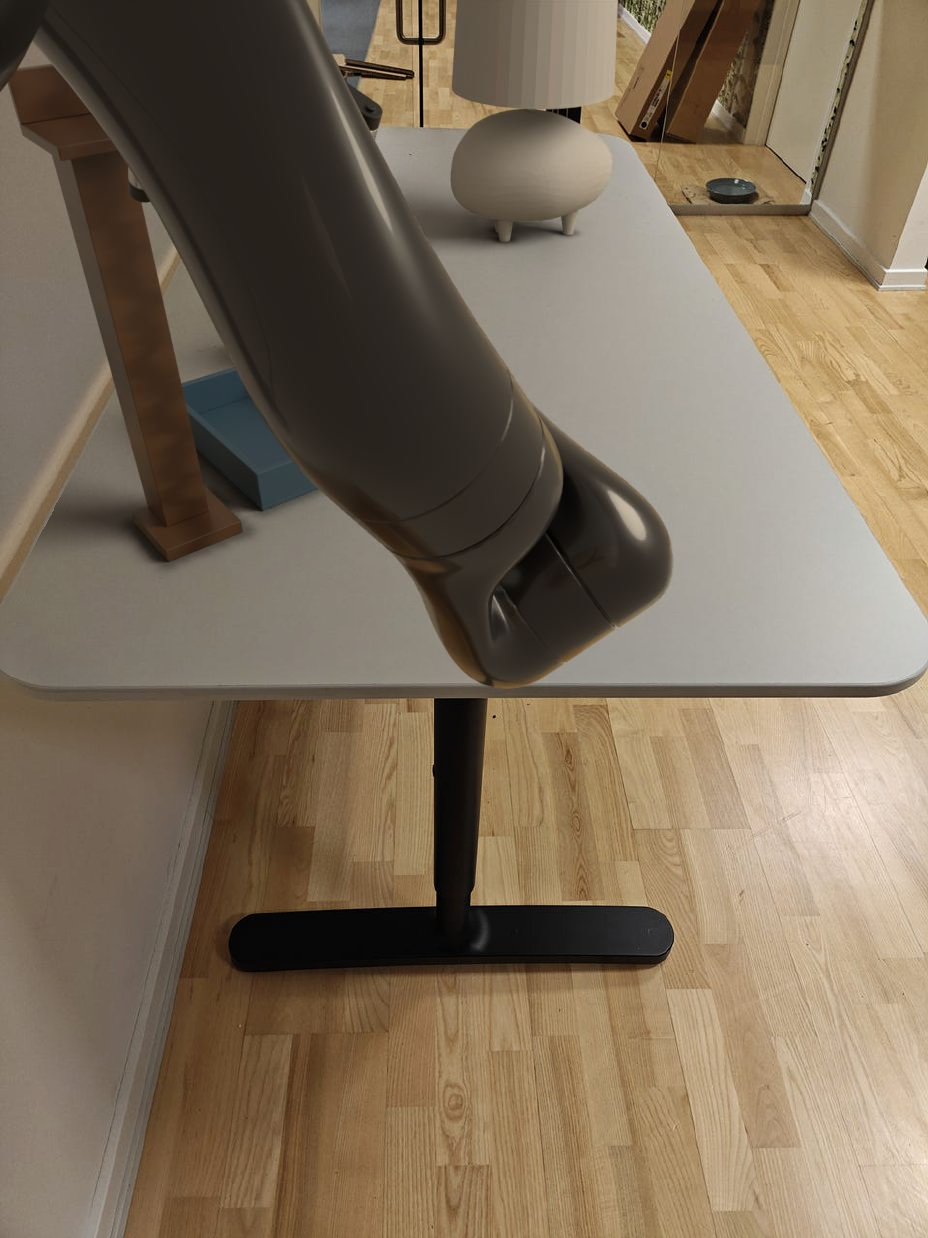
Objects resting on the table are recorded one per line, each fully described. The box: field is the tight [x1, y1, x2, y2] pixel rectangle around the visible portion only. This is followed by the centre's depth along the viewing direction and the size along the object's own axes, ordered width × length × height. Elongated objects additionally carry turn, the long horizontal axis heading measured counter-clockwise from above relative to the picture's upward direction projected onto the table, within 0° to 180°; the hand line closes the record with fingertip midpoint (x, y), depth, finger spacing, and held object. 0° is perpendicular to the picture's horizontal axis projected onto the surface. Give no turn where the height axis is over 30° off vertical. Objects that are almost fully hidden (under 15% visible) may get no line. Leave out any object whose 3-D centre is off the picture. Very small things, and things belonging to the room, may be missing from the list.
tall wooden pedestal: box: [7, 63, 244, 563], centre depth 69 cm, size 7×7×35 cm
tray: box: [181, 366, 319, 512], centre depth 89 cm, size 19×12×4 cm, turn 38°
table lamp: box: [449, 0, 619, 243], centre depth 121 cm, size 23×22×40 cm
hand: (168, 9), depth 45 cm, fingers closed
